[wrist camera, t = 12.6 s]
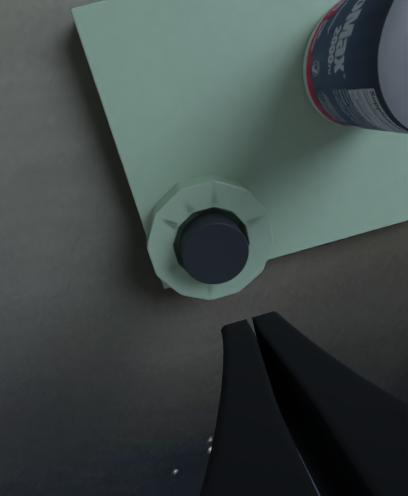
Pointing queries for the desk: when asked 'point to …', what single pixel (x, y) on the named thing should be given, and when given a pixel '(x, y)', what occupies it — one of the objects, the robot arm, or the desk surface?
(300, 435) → the robot arm
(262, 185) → the green flat slab
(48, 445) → the desk surface
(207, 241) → the button
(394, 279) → the desk surface
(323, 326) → the desk surface
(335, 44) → the pill bottle
